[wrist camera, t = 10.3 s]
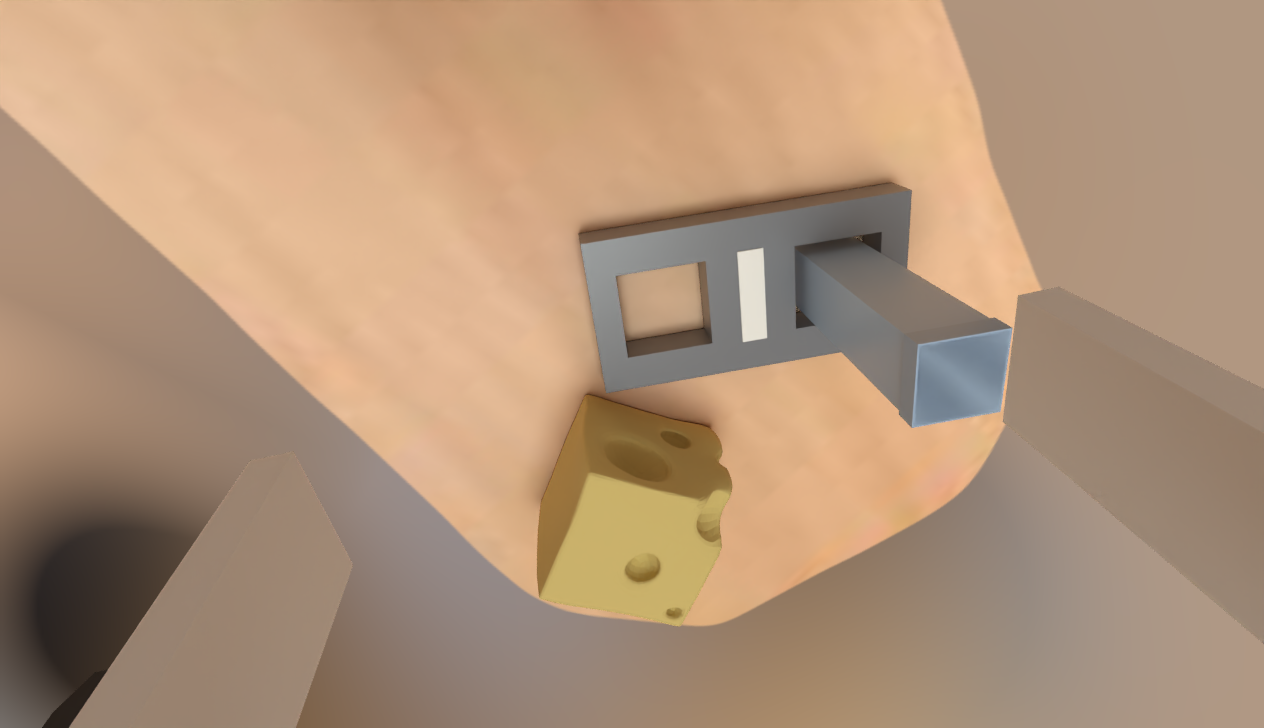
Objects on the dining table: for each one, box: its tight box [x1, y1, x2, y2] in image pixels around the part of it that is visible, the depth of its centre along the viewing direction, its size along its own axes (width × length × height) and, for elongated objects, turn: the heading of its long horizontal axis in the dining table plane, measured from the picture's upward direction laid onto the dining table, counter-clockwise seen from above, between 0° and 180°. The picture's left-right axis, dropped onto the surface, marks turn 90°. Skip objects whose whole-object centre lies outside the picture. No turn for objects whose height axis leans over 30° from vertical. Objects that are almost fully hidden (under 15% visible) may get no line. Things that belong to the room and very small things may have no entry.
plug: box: [794, 237, 1012, 428], centre depth 36 cm, size 4×4×16 cm
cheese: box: [537, 395, 732, 626], centre depth 43 cm, size 10×11×10 cm
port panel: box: [579, 183, 912, 393], centre depth 41 cm, size 10×20×3 cm, turn 97°
